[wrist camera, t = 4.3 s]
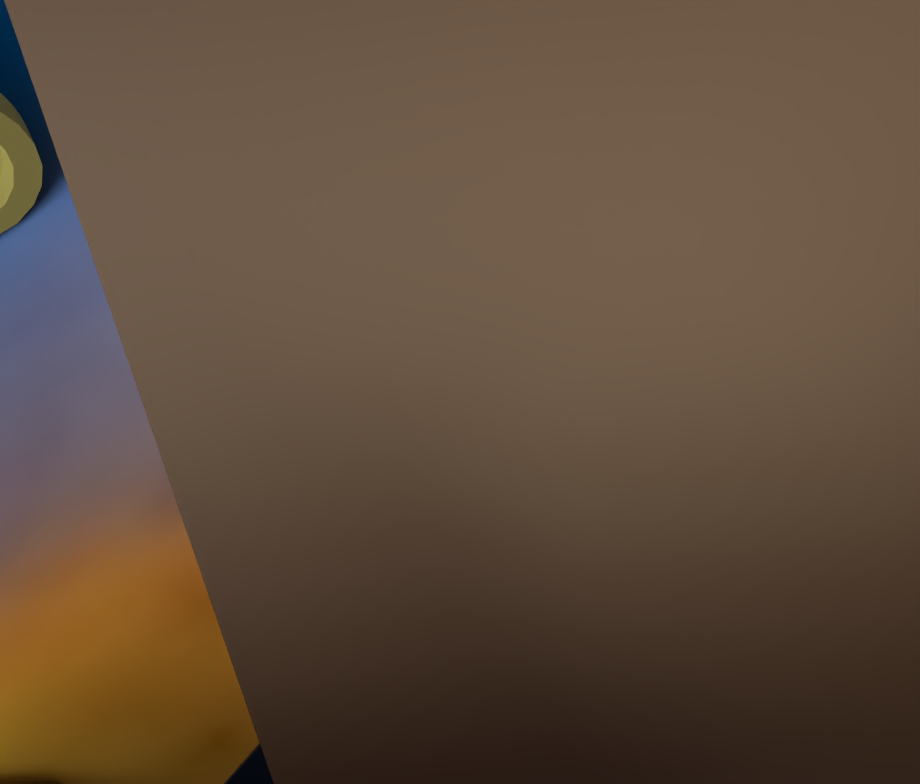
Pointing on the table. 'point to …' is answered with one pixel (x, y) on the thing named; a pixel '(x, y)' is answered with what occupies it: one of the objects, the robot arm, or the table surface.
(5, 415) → the table surface
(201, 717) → the table surface
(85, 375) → the table surface
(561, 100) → the rail
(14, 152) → the plastic component
